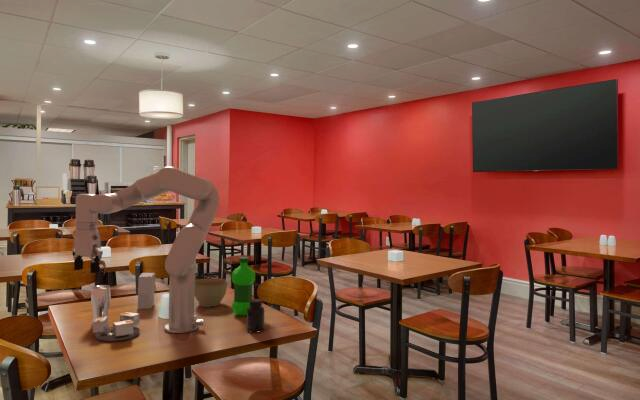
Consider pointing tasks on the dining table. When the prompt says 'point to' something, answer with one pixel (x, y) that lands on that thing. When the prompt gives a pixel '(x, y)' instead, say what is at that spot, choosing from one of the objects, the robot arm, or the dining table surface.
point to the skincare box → (146, 290)
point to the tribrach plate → (110, 337)
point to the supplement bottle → (255, 316)
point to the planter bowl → (210, 291)
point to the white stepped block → (130, 317)
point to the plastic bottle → (242, 286)
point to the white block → (100, 324)
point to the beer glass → (100, 301)
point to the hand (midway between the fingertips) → (86, 271)
